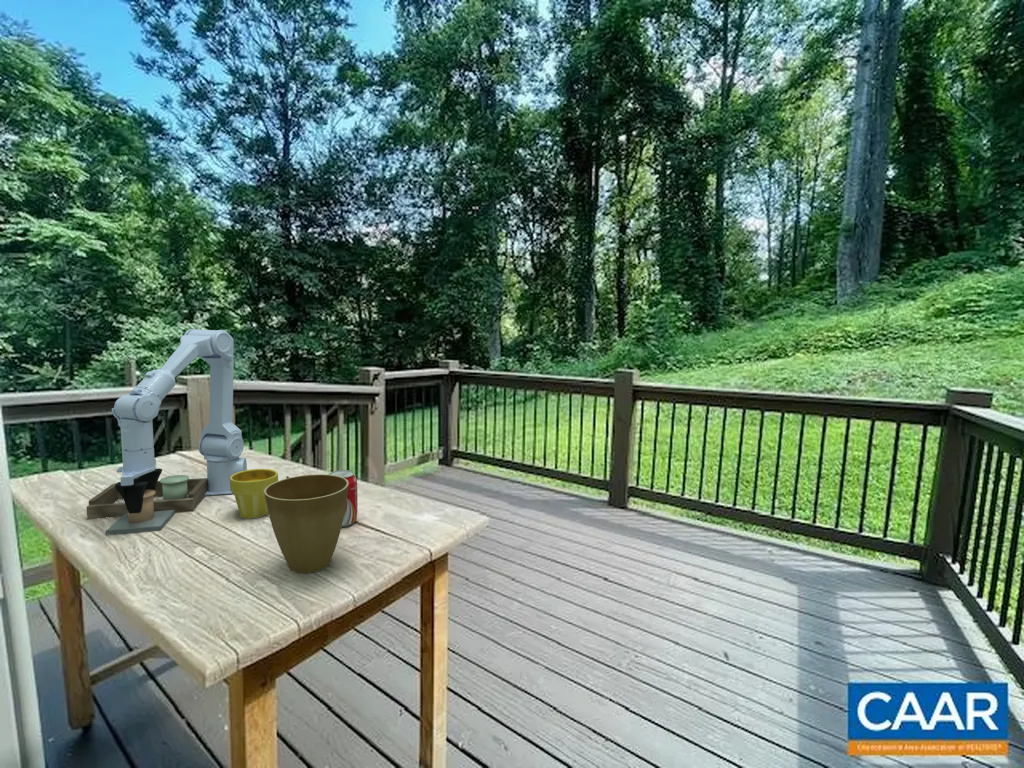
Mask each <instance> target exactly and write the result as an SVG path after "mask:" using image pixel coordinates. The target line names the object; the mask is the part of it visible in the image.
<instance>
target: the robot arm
mask: <svg viewBox="0 0 1024 768" xmlns="http://www.w3.org/2000/svg"><path fill="white" fill-rule="evenodd" d="M179 339H180V341H179V342H180V344H179V345H178V346H177V348H176V349H175V350H174V352H173V353H172V354H171V355H170V357H169V358H168V359H167V360H166V362H165V363H164V364H163V365H162V366H161V368H160V369H153V370H151V371H149V370H148V371H147V372H146V373H145V377H144V378H143V379H142V380H140V382H139V383H138V384H137V385H136V386H135V387H133V388H132V389H131V391H130V392H129V394H124V395H122V396H120V397H118V398H117V400H116V401H115V402H114V406H113V408H111V412H112V415H113V416H114V418H116V420H117V425H118V427H119V428H120V438H121V439H120V441H121V442H120V443H121V454H122V456H121V458H122V466H121V467H118V468H117V469H116V473H121V474H122V475H121V476H120V481H117V482H116V484H115V489H116V490H117V491H118V492H119V493H120V495H121V496H122V498H123V499H122V500H123V501H124V502H123V503H125V504H126V507H127V510H128V512H129V514H131V513H140V512H141V510H142V505H143V496H144V492H145V489H150V490H155V489H156V485H157V481H159V480H160V479H159V478H160V477H161V474H162V473H163V468H157V459H156V458H155V448H154V447H155V446H154V445H155V443H154V428H153V427H154V426H153V420H154V419H155V418H156V417H157V416H158V414H159V412H160V406H161V404H162V401H163V400H164V398H166V396H167V395H168V394H169V393H170V392H171V391H172V390H173V388H174V387H175V386H176V379H175V378H176V377H177V376H178V375H179V374H181V373H182V372H183V371H184V370H185V369H186V368H187V367H188V366H190V364H191V363H192V362H193V361H194V360H196V358H199V359H203V361H204V362H206V363H207V364H208V365H209V366H210V367H209V369H210V370H209V371H210V372H209V423H208V424H207V425H206V426H205V427H204V428H202V430H201V433H200V434H201V435H200V439H199V442H198V446H197V447H198V452H199V454H200V455H202V456H203V459H204V461H205V460H206V478H207V482H208V491H207V492H206V493H205V495H206V496H216V495H217V496H218V495H232V494H233V495H234V493H232V492H231V490H230V477H231V476H232V475H233V474H235V473H238V472H241V471H245V470H248V467H247V466H248V463H247V458H246V457H240V456H241V455H242V453H243V450H244V448H245V447H244V446H245V443H244V439H243V435H242V433H243V432H242V431H243V430H241V429H240V428H239V427H238V426H236V424H234V423H233V421H234V420H233V418H234V417H233V414H234V413H233V412H234V411H233V409H234V372H235V371H234V369H235V368H234V365H235V361H234V340H235V339H234V338H233V337H232V336H231V335H230V334H229V332H227V330H225V329H218V330H216V329H212V330H211V329H197V328H190V329H188V330H187V331H186V332H185V333H184V335H182V336H181V337H180V338H179ZM153 499H155V497H154V496H153Z"/></svg>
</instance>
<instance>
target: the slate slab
mask: <svg viewBox="0 0 1024 768" xmlns="http://www.w3.org/2000/svg"><path fill="white" fill-rule="evenodd" d="M174 515H176V513H175V510H167V511H154V518H153V519H152V520H149V521H146V522H141V523H130V522H128V513H127V514H124V515H123V516H122V517H118V519H117V520H116V521H115V522H113V523H112V524H111V525H110V526H109V527H108V528H107V529H106V530H105V535H106V536H108V535H107V534H113V535H122V534H135V533H146V532H156V531H157V532H158V531H159V532H160V531H161V530H162V529H163V528H164V527H165V526H166V525H167V523H169V522H170V520H171V519H172V518H173V516H174ZM174 517H175V516H174Z"/></svg>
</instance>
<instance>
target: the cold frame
mask: <svg viewBox="0 0 1024 768" xmlns="http://www.w3.org/2000/svg"><path fill="white" fill-rule="evenodd" d="M116 483H117V482H116ZM116 483H112V484H110V485H109V486H108V487H106V488H105V489H103V490H101V491H100V492H99V493H97V494H96V495H95V496H94V497H92V498H90V499H89V500H88V505H87V506H86V507H85V508H86V520H98V519H97V518H100V519H107V518H106V517H109V518H108V519H110V517H113V518H121V517H122V516H123V515H124V514H127V513H128V510H127V507H126V504H125V502H117V501H118V499H121V500H123V498H122V496H121V495H120V493H119V492H118V491H117V490H116V489H115V484H116ZM187 491H188V498H186V499H171V500H163V499H159V500H158V499H157V500H154V511H167V510H175V514H177V513H190V512H194V511H195V510H196V508H197V507H198V506H199V504H200V503H201V502H202V501H203V500H204V498H205V497H206V496H205V493H206V492H207V491H208V482H207V477H204V478H189V480H188V481H187ZM162 496H163V489H162V484H161V483H160V480H158V481H157V485H156V489H155V495H154V498H163V497H162ZM202 499H203V500H202ZM115 501H116V502H117V503H116V502H115Z"/></svg>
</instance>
